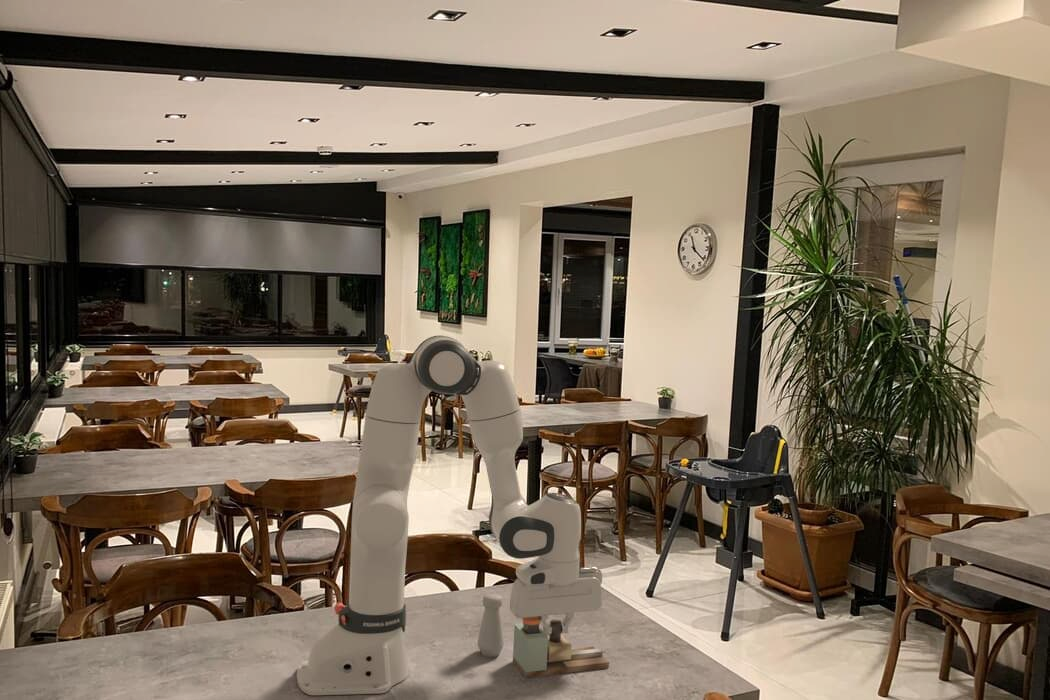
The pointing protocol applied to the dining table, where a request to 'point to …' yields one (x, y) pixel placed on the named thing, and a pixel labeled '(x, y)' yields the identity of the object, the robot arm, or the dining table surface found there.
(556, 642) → the carriage
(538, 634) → the end cabinet
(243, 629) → the dining table surface
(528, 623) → the button
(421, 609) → the dining table surface
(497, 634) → the salt shaker
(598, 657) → the rail bed
